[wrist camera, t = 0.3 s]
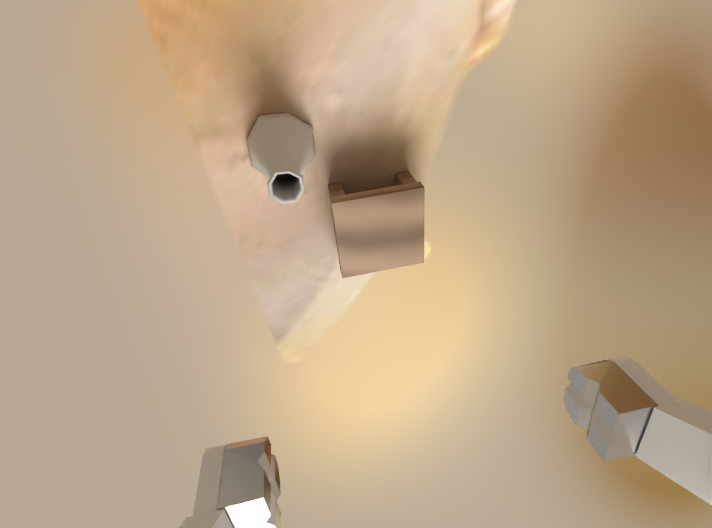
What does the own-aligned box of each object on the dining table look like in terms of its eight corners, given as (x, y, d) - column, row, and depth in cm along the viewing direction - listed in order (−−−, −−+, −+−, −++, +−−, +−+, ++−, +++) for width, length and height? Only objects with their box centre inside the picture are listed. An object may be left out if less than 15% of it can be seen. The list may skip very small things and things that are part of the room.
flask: (251, 103, 40) (248, 137, 33) (322, 119, 43) (336, 155, 35) (242, 171, 44) (237, 217, 36) (308, 183, 46) (317, 229, 39)
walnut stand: (325, 183, 47) (331, 203, 43) (410, 168, 48) (424, 187, 44) (336, 254, 53) (342, 278, 49) (411, 240, 54) (423, 262, 50)
